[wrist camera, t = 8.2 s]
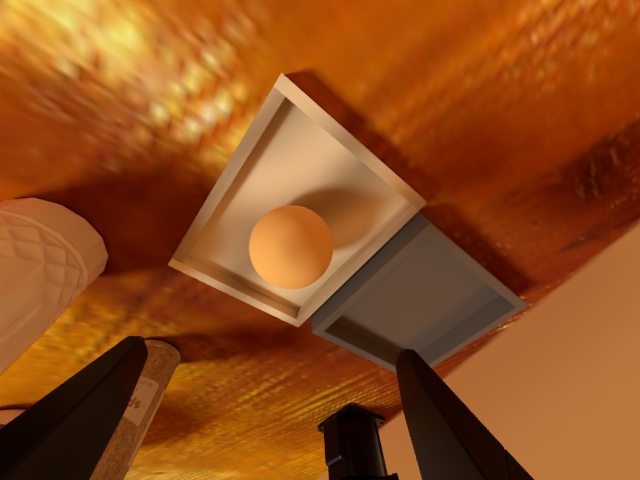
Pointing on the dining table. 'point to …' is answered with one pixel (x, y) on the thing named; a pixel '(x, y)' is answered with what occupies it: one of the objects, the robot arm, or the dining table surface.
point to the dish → (415, 299)
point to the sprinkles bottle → (138, 411)
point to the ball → (291, 247)
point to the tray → (294, 203)
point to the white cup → (41, 269)
